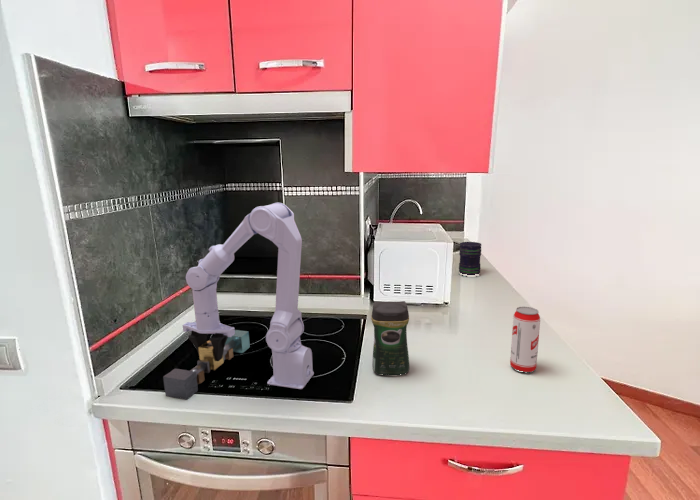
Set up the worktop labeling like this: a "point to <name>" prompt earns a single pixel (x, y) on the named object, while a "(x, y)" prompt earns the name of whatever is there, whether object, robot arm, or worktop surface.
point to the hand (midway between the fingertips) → (211, 358)
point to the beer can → (525, 339)
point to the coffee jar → (390, 338)
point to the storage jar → (470, 258)
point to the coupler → (209, 355)
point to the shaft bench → (201, 369)
